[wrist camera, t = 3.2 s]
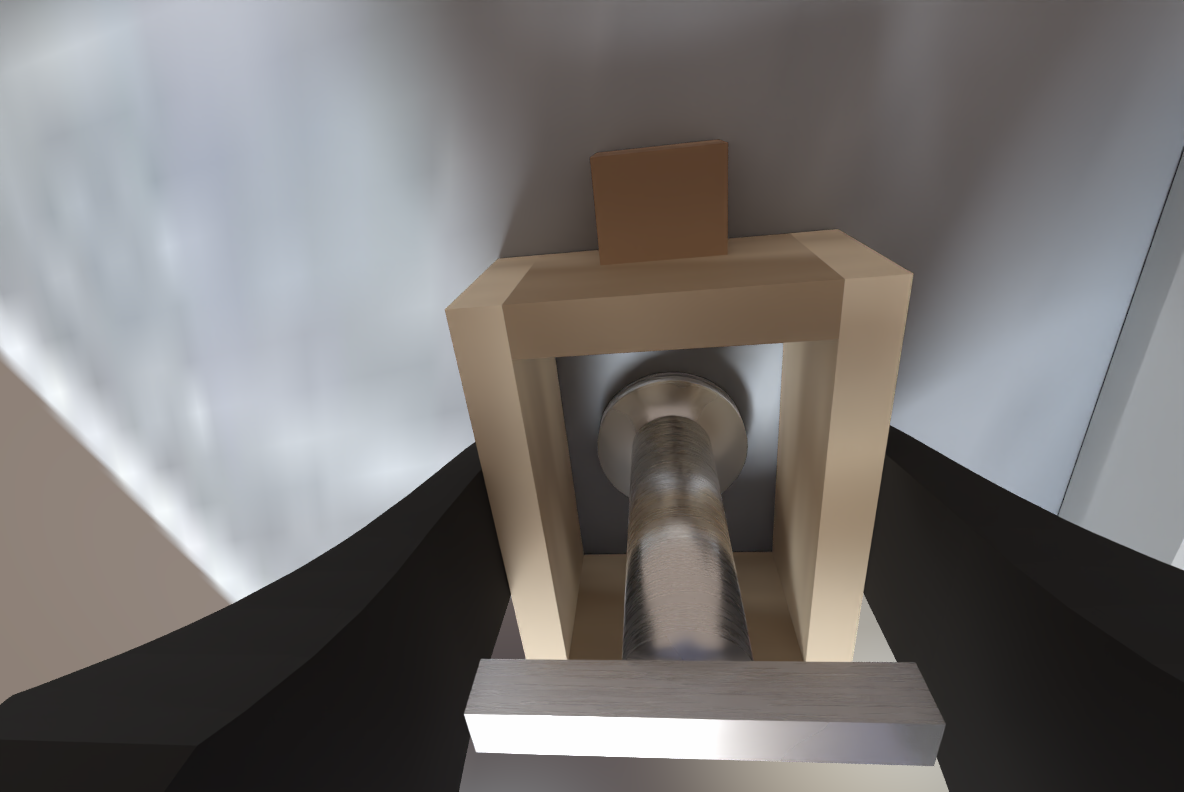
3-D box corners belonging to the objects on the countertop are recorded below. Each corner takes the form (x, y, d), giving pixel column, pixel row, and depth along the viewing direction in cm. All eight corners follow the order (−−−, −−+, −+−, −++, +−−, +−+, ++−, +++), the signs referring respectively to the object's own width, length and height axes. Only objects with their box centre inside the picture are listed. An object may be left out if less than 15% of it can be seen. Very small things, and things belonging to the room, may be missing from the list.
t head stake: (790, 491, 12) (916, 825, 6) (562, 498, 13) (494, 806, 7) (798, 364, 11) (969, 645, 5) (543, 379, 11) (440, 642, 6)
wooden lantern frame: (805, 577, 13) (847, 696, 10) (555, 579, 14) (533, 691, 11) (847, 124, 9) (936, 129, 6) (480, 165, 9) (416, 185, 7)
